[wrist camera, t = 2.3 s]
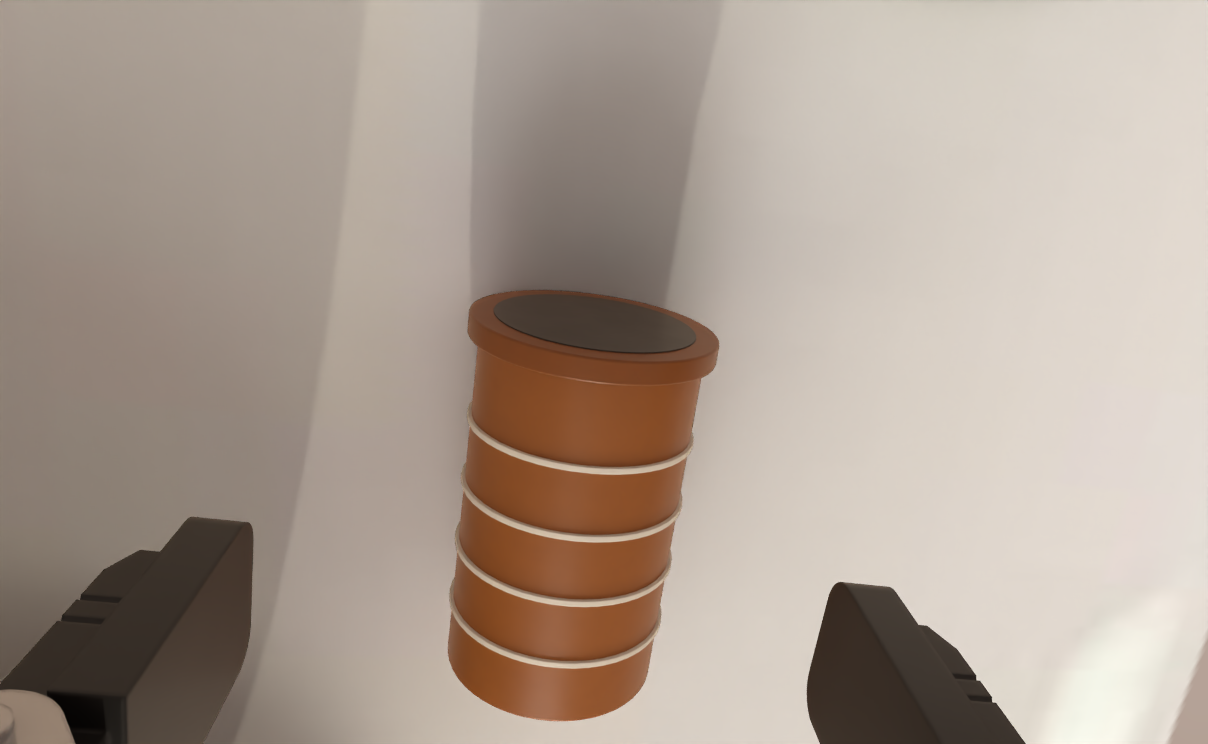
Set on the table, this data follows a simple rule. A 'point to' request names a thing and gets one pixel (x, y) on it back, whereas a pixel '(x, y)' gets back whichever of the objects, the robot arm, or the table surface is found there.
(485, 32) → the table surface
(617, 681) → the brown striped cylinder
